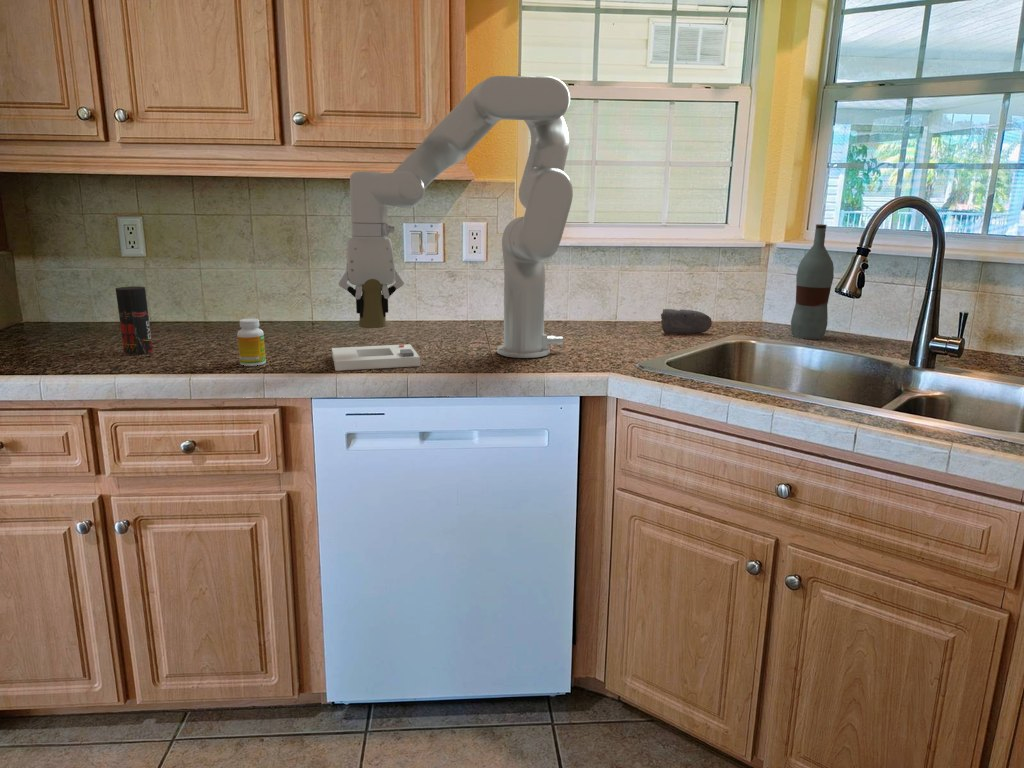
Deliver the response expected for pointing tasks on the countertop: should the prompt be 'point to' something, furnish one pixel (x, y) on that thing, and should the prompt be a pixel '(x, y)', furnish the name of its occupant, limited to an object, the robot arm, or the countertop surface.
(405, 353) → the white flat base
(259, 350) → the supplement bottle
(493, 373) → the countertop surface
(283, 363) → the countertop surface
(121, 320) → the deodorant
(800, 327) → the vodka
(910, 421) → the countertop surface
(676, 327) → the perforated stone tool
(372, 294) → the cork
